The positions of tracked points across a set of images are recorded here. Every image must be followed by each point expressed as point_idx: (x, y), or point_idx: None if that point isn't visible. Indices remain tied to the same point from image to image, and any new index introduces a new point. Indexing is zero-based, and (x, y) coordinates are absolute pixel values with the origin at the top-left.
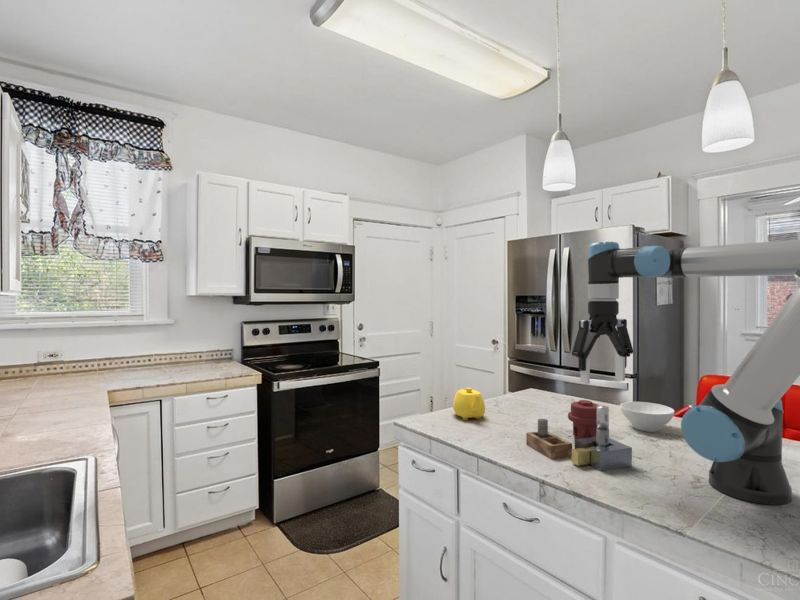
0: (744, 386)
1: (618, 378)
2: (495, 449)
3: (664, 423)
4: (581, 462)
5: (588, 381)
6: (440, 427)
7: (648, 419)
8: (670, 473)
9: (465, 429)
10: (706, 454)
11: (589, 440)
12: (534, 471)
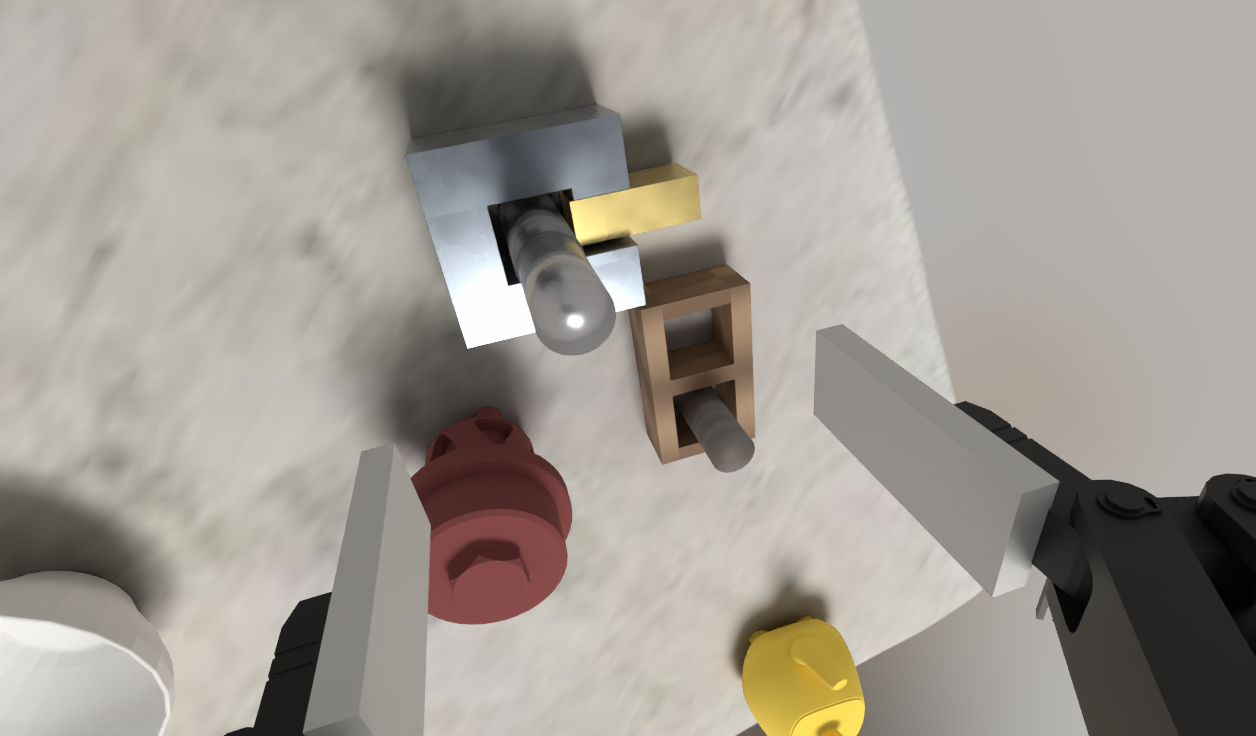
0: None
1: (415, 500)
2: None
3: None
4: (660, 168)
5: (841, 338)
6: (912, 548)
7: (52, 594)
8: (230, 12)
9: (852, 537)
10: None
11: None
12: (857, 145)
